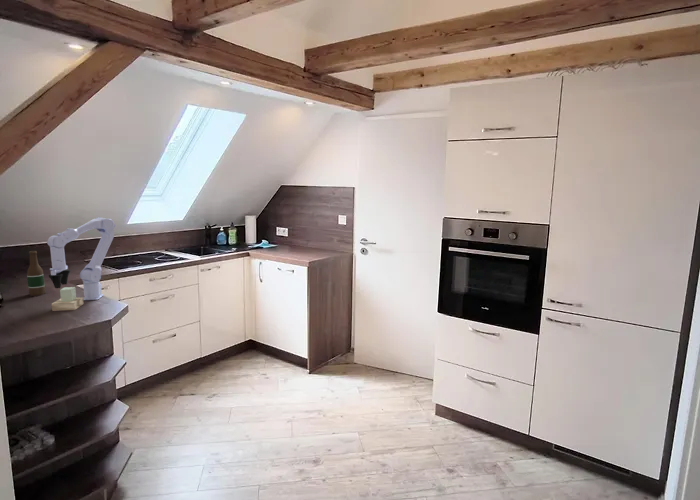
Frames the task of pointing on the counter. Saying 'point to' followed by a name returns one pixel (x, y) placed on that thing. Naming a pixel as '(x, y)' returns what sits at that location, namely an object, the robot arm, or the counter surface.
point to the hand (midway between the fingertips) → (61, 286)
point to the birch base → (67, 304)
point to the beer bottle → (35, 276)
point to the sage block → (68, 294)
